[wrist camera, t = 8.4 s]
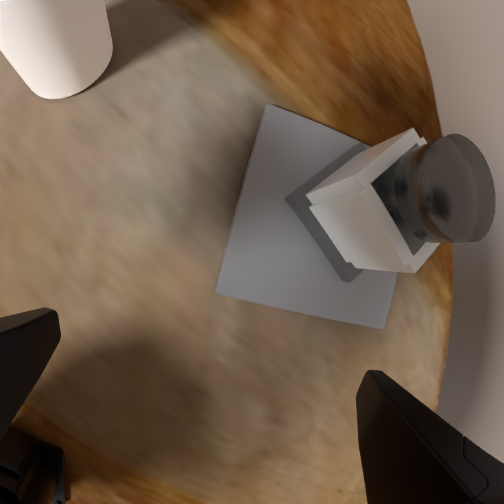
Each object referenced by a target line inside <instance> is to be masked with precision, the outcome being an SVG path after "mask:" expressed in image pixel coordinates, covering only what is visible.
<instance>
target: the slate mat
mask: <svg viewBox="0 0 504 504" xmlns="http://www.w3.org/2000/svg"><path fill="white" fill-rule="evenodd" d="M358 143H360V142H359V141H357V140H355V139H353V138H351V137H349V136H347V135H344V134H342V133H340V132H338V131H335V130H333V129H331V128H328V127H326V126H324V125H321V124H319V123H317V122H314V121H312V120H309V119H307V118H304V117H302V116H299V115H297V114H294V113H292V112H289V111H286V110H284V109H281V108H278V107H276V106H273V105H270V104H267V105H266V106H265V108H264V110H263V114H262V117H261V120H260V124H259V127H258V131H257V134H256V137H255V141H254V144H253V148H252V151H251V155H250V158H249V162H248V165H247V169H246V172H245V176H244V180H243V183H242V187H241V190H240V194H239V197H238V201H237V205H236V208H235V212H234V216H233V219H232V223H231V227H230V230H229V234H228V238H227V242H226V245H225V249H224V253H223V257H222V261H221V264H220V268H219V272H218V276H217V280H216V284H215V287H214V291H213V292H214V293H215V294H220V295H224V296H228V297H232V298H236V299H240V300H244V301H249V302H253V303H257V304H262V305H266V306H270V307H275V308H279V309H284V310H288V311H293V312H298V313H302V314H307V315H312V316H316V317H321V318H326V319H331V320H336V321H341V322H346V323H351V324H356V325H361V326H367V327H372V328H377V329H383V330H384V327H385V324H386V320H387V316H388V313H389V309H390V305H391V301H392V297H393V293H394V288H395V284H396V280H397V275H398V272H393V271H382V270H371V269H364V270H363V271H362V272H361V273H360V274H359V275H358V276H357V277H356V278H355V279H354V280H353V281H352V282H351V283H349V282H343V281H342V280H341V278H340V277H339V275H338V274H337V272H336V271H335V269H334V268H333V266H332V265H331V263H330V262H329V260H328V259H327V258H326V256H325V255H324V253H323V252H322V250H321V249H320V247H319V246H318V245H317V243H316V242H315V240H314V239H313V237H312V236H311V235H310V233H309V232H308V230H307V229H306V227H305V226H304V225H303V223H302V222H301V220H300V219H299V218H298V216H297V215H296V213H295V212H294V211H293V209H292V208H291V207H290V205H289V204H288V202H287V201H286V200H285V197H286V196H288V195H289V194H290V193H292V192H293V191H294V190H296V189H297V188H298V187H299V186H301V185H302V184H303V183H305V182H306V181H307V180H309V179H310V178H311V177H313V176H314V175H315V174H317V173H318V172H319V171H321V170H322V169H323V168H324V167H326V166H327V165H328V164H330V163H331V162H332V161H334V160H335V159H336V158H338V157H339V156H340V155H342V154H343V153H344V152H346V151H347V150H348V149H350V148H351V147H353V146H354V145H356V144H358ZM363 145H364V146H365V148H366V149H369V148H371V147H370V146H368V145H366V144H364V143H363Z"/></svg>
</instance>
